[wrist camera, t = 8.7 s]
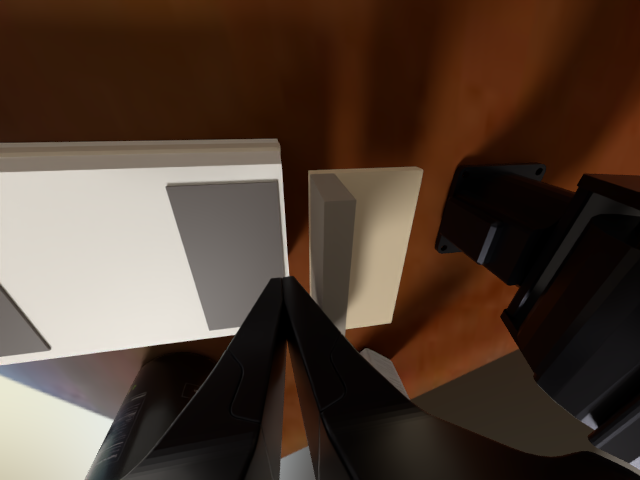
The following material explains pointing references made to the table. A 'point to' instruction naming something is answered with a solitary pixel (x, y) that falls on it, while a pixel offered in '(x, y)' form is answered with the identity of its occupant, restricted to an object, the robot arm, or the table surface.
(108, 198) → the carton
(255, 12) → the table surface
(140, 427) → the supplement bottle
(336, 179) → the flap
